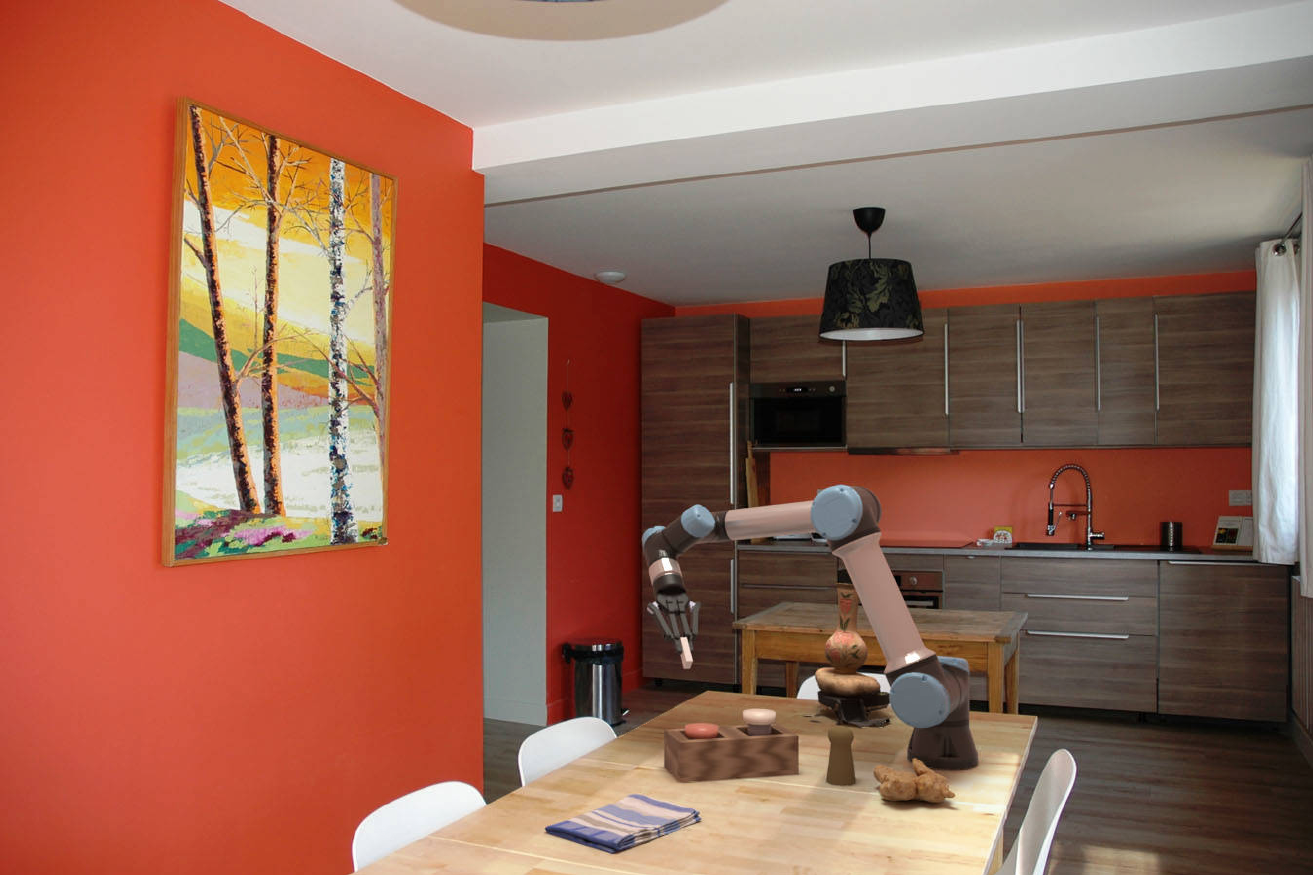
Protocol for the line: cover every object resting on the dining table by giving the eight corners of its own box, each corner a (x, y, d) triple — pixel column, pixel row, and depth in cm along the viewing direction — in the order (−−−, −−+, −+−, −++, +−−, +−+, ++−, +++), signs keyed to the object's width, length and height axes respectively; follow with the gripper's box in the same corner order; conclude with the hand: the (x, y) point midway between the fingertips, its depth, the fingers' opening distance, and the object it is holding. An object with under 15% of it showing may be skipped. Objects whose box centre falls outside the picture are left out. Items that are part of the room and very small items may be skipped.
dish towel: (704, 823, 184) (704, 807, 184) (616, 858, 166) (616, 841, 166) (632, 804, 195) (632, 789, 195) (542, 835, 177) (542, 818, 177)
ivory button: (768, 740, 224) (768, 707, 224) (780, 747, 217) (780, 714, 217) (738, 742, 222) (738, 709, 222) (749, 749, 215) (749, 716, 215)
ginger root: (955, 809, 187) (944, 765, 189) (870, 821, 192) (860, 777, 194) (961, 789, 202) (951, 748, 203) (882, 800, 207) (873, 760, 208)
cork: (855, 786, 206) (855, 731, 207) (825, 784, 207) (825, 729, 208) (856, 778, 212) (855, 724, 213) (826, 776, 213) (826, 723, 214)
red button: (712, 754, 220) (712, 721, 220) (722, 763, 213) (722, 729, 214) (680, 756, 218) (681, 723, 218) (690, 765, 211) (690, 731, 212)
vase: (906, 714, 274) (905, 583, 276) (877, 730, 255) (877, 589, 257) (824, 704, 286) (824, 578, 288) (791, 719, 268) (791, 584, 269)
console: (776, 759, 226) (776, 723, 227) (798, 774, 215) (798, 735, 215) (664, 767, 220) (664, 729, 220) (680, 782, 208) (680, 742, 208)
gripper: (690, 592, 247) (712, 673, 230) (638, 593, 243) (656, 676, 226) (697, 571, 242) (720, 653, 225) (643, 572, 239) (663, 655, 222)
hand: (688, 664), depth 226 cm, fingers closed
